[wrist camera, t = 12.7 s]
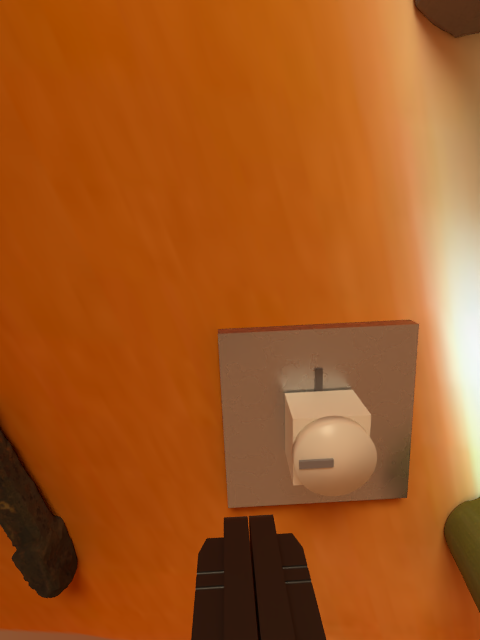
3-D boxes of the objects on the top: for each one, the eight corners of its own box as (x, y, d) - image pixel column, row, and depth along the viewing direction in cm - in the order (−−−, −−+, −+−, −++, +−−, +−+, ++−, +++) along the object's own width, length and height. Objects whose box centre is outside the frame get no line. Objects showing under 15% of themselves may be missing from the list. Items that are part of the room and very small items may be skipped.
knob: (353, 388, 29) (380, 424, 24) (351, 449, 31) (375, 495, 26) (283, 392, 29) (294, 428, 24) (284, 453, 31) (295, 500, 26)
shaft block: (399, 486, 34) (427, 528, 29) (228, 496, 33) (228, 540, 29) (409, 319, 30) (444, 335, 25) (218, 329, 30) (216, 347, 25)
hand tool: (-48, 404, 31) (-96, 432, 26) (-6, 389, 31) (-47, 415, 26) (53, 570, 35) (26, 620, 31) (90, 558, 35) (69, 606, 30)
